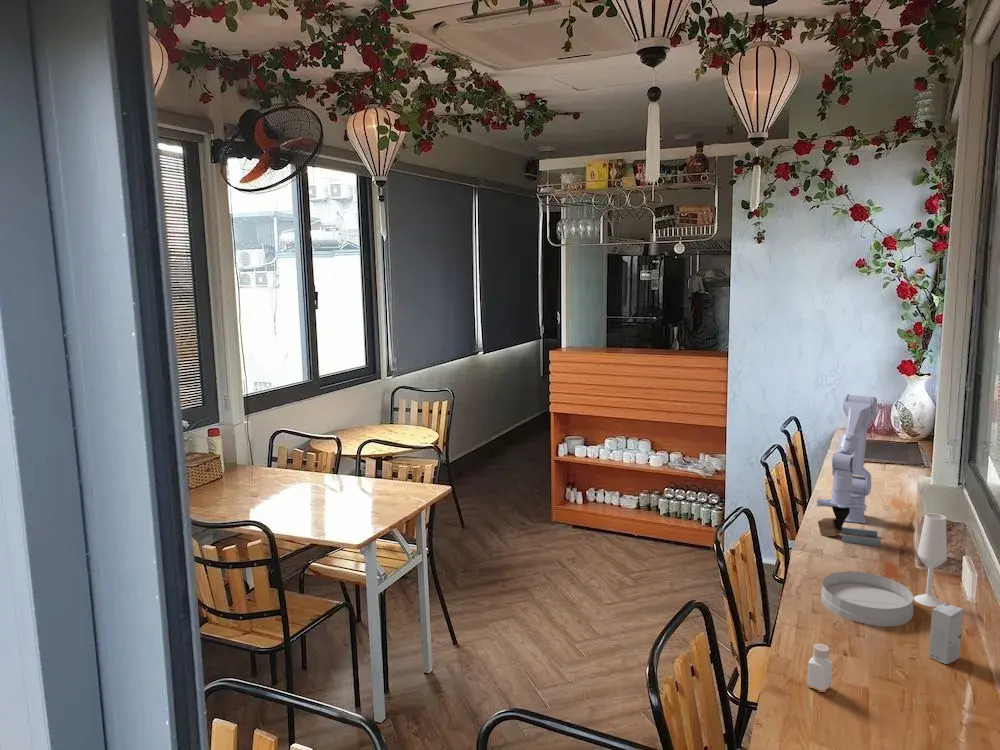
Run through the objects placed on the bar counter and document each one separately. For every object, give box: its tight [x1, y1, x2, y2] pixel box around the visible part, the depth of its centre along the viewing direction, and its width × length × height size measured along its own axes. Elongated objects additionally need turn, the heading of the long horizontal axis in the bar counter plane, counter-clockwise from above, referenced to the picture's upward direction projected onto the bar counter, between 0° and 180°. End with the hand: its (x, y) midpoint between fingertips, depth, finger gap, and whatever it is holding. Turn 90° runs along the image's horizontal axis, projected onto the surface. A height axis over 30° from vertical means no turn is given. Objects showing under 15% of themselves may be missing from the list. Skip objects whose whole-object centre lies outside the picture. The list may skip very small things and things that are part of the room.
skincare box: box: [928, 602, 964, 665], centre depth 171 cm, size 6×4×12 cm
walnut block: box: [817, 517, 842, 537], centre depth 244 cm, size 4×5×5 cm
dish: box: [820, 570, 914, 627], centre depth 197 cm, size 22×22×5 cm
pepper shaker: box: [806, 643, 833, 690], centre depth 160 cm, size 4×4×10 cm
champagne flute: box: [913, 512, 948, 608], centre depth 197 cm, size 7×7×24 cm
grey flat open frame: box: [840, 526, 881, 547], centre depth 241 cm, size 8×11×2 cm
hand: (839, 529), depth 242 cm, fingers closed, pressing on walnut block
